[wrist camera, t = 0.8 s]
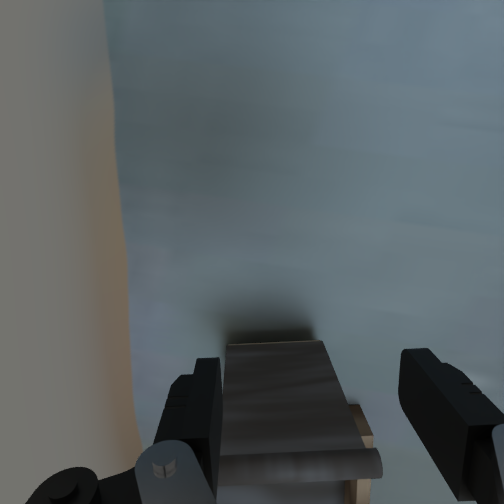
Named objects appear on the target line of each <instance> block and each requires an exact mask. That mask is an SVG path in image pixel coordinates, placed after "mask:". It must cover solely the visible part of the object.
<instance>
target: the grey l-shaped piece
mask: <svg viewBox="0 0 504 504" xmlns="http://www.w3.org/2000/svg"><path fill="white" fill-rule="evenodd" d="M222 396H223V422H222V434H221V447H220V460H219V473H218V486H237V485H257V484H277V483H297V482H316V481H336V480H356V479H376V478H382V475H383V468H382V462H381V458H380V454H379V452H378V450H377V449H376V448H366V447H365V445H364V442H363V440H362V437H361V435H360V432H359V430H358V427H357V425H356V422H355V420H354V418H353V415H352V413H351V410H350V408H349V405H348V403H347V400H346V398H345V395H344V393H343V390H342V388H341V385H340V383H339V381H338V378H337V376H336V373H335V371H334V368H333V366H332V363H331V361H330V358H329V356H328V353H327V351H326V348H325V346H324V343H323V341H320V340H313V341H292V342H270V343H249V344H228V345H227V348H226V360H225V372H224V383H223V395H222ZM218 486H217V487H218Z"/></svg>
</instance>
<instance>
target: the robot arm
mask: <svg viewBox="0 0 504 504" xmlns="http://www.w3.org/2000/svg"><path fill="white" fill-rule="evenodd" d="M398 395H399V401H400V405H401V407H402V410H403V411H404V413H405V415H406V416H407V418H408V420H409V421H410V423H411V425H412V426H413V428H414V430H415V431H416V433H417V435H418V436H419V438H420V440H421V441H422V443H423V444H424V446H425V448H426V449H427V451H428V453H429V454H430V456H431V458H432V459H433V461H434V463H435V464H436V466H437V468H438V469H439V471H440V473H441V474H442V476H443V477H444V479H445V481H446V482H447V484H448V486H449V487H450V489H451V491H452V492H453V494H454V496H455V497H456V499H457V501H475V500H476V502H477V504H504V414H503V413H502V412H501V411H500V410H499V409H498V408H497V407H496V406H495V405H494V404H493V403H492V402H491V401H490V400H489V399H488V398H487V397H486V396H485V395H484V394H482V391H481V390H480V389H479V388H478V387H477V386H476V385H473V382H472V381H471V380H470V379H469V378H468V377H467V376H466V375H465V374H464V373H463V372H462V371H460V370H458V369H457V368H455V367H453V366H452V365H450V364H448V363H442V362H441V361H440V360H439V359H438V358H437V357H436V356H435V355H434V354H433V353H432V352H431V351H430V350H429V349H428V348H416V349H404V350H403V351H402V353H401V360H400V373H399V386H398ZM222 422H223V396H222V382H221V368H220V359H219V357H216V358H197V360H196V364H195V369H194V373H193V374H188V375H180V376H179V377H178V378H177V379H176V380H175V382H174V383H173V384H172V385H171V387H170V391H169V394H168V399H167V400H166V404H165V409H164V410H163V413H162V417H161V420H160V423H159V426H158V430H157V433H156V436H155V439H154V443H153V445H152V446H150V447H149V448H147V449H146V450H145V451H144V452H143V453H142V454H141V455H140V457H139V458H138V460H137V461H136V465H135V467H133V468H132V469H130V470H128V471H125V472H123V473H120V474H117V475H114V476H111V477H108V478H104V479H102V480H98V479H97V476H96V474H95V473H94V472H93V471H92V470H90V469H88V468H85V467H75V468H74V467H73V468H69V469H65V470H63V471H60V472H58V473H56V474H54V475H52V476H51V477H49V478H48V479H47V480H45V481H44V482H43V483H42V484H41V485H40V486H39V487H38V488H37V489H36V490H35V491H34V493H33V494H32V495H31V497H30V498H29V499H28V501H27V502H26V503H25V504H217V502H216V498H217V486H218V473H219V460H220V447H221V434H222Z"/></svg>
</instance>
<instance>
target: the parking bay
mask: <svg viewBox="0 0 504 504" xmlns="http://www.w3.org/2000/svg"><path fill="white" fill-rule="evenodd" d="M349 408H350V410H351V413H352V415H353V418H354V420H355V422H356V425H357V427H358V430H359V432H360V435H361V437H362V440H363V442H364V445H365V447H366V448H373V434H372V431H371V429H370V427H369V425H368V422H367V420H366V418H365V416H364V413H363V411H362V409H361V407H360V405H349ZM370 486H371V479H356V480H336V481H316V482H297V483H277V484H257V485H237V486H218V487H217V498H216V502H217V504H369V502H370Z"/></svg>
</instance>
